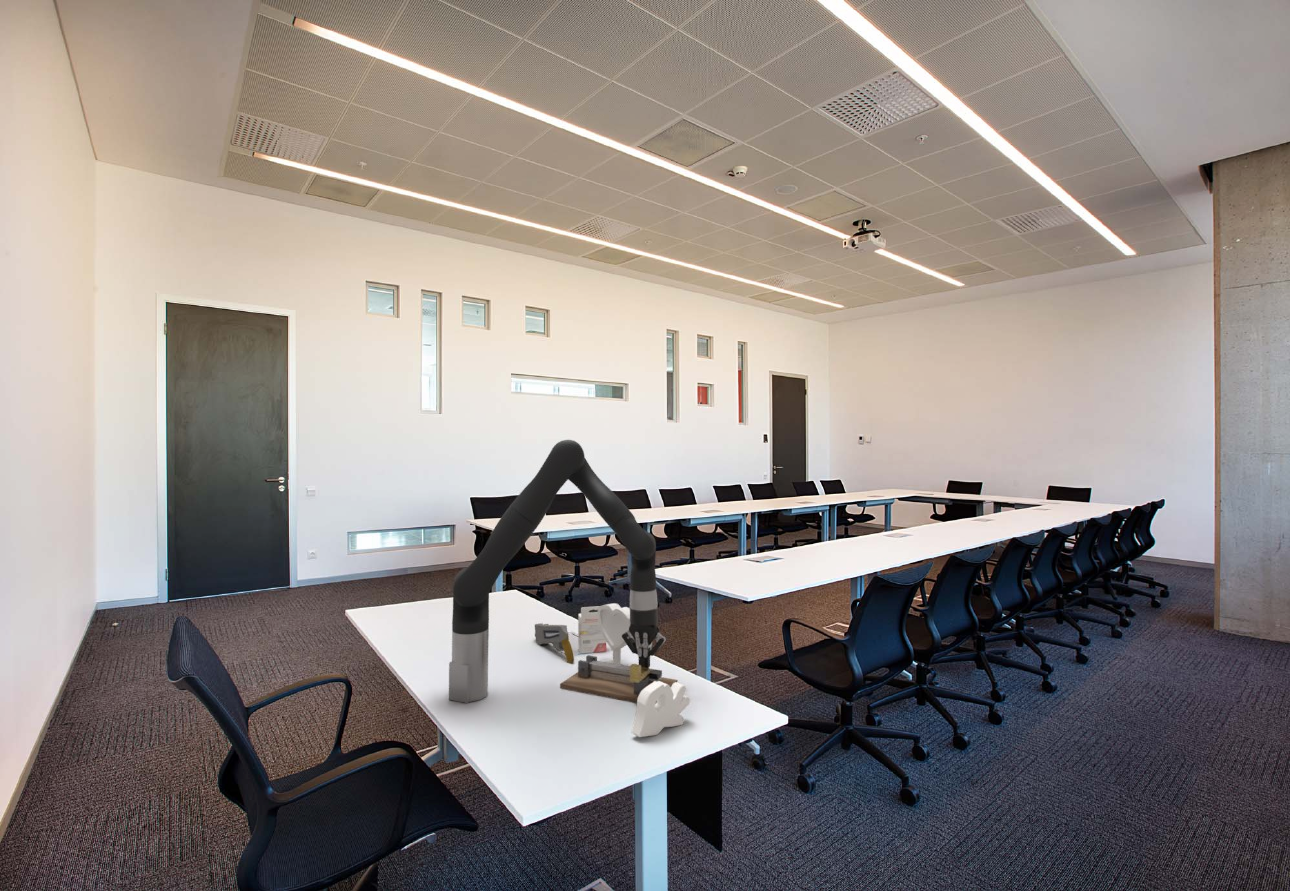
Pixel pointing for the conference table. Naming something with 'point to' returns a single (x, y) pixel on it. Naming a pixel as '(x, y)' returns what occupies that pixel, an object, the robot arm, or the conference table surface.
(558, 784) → the conference table surface
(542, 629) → the gun
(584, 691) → the walnut board
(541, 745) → the conference table surface
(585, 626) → the ink cartridge box
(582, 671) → the tong frame
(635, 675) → the lock bolt
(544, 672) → the conference table surface
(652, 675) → the tong arm
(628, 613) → the heart sculpture
